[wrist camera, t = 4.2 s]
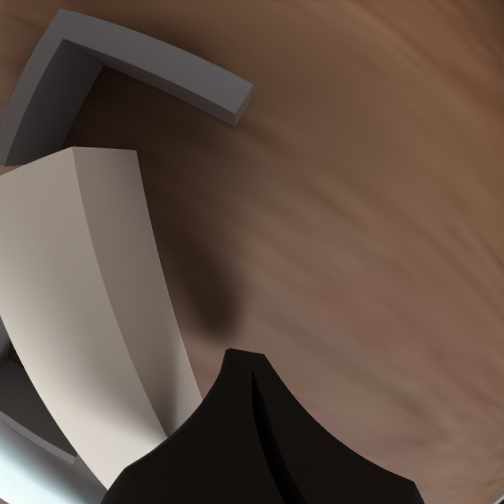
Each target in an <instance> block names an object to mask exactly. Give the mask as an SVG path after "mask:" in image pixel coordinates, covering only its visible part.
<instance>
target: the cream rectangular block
mask: <svg viewBox="0 0 504 504" xmlns="http://www.w3.org/2000/svg"><path fill="white" fill-rule="evenodd" d="M0 316H1V318H2V321H3V323H4V326H5V328H6V330H7V332H8V335H9V337H10V339H11V341H12V344H13V346H14V348H15V350H16V352H17V354H18V356H19V358H20V360H21V362H22V364H23V366H24V368H25V370H26V372H27V374H28V376H29V378H30V379H31V381H32V383H33V385H34V387H35V388H36V390H37V392H38V394H39V395H40V397H41V399H42V400H43V402H44V404H45V405H46V407H47V409H48V410H49V412H50V413H51V415H52V417H53V418H54V420H55V421H56V423H57V424H58V426H59V427H60V429H61V430H62V432H63V433H64V435H65V436H66V438H67V439H68V440H69V442H70V443H71V445H72V446H73V447H74V449H75V450H76V451H77V453H78V454H79V456H80V457H81V458H82V459H83V461H84V462H85V463H86V465H87V466H88V467H89V468H90V470H91V471H92V472H93V473H94V475H95V476H96V477H97V478H98V479H99V481H100V482H101V483H102V484H103V485H104V486H105V488H106V489H107V490H108V489H109V488H110V487H111V485H112V484H113V482H114V481H115V480H116V478H117V477H118V476H119V474H120V473H121V472H122V471H123V469H124V468H125V467H127V466H128V465H130V464H132V463H133V462H135V461H136V460H138V459H140V458H141V457H143V456H144V455H146V454H148V453H149V452H150V451H152V450H153V449H155V448H156V447H157V446H158V445H160V444H161V443H162V442H163V441H164V440H166V439H167V438H168V437H169V436H171V435H172V434H173V433H174V432H175V431H176V430H177V429H178V428H179V427H180V426H181V425H182V424H183V423H184V422H185V421H186V420H187V419H188V418H189V417H190V416H191V415H192V414H193V412H194V411H195V410H196V409H197V408H198V406H199V405H200V404H201V402H202V398H201V395H200V392H199V389H198V387H197V384H196V381H195V378H194V375H193V372H192V369H191V366H190V363H189V360H188V357H187V354H186V350H185V347H184V344H183V341H182V338H181V334H180V331H179V328H178V324H177V321H176V318H175V314H174V311H173V307H172V304H171V300H170V297H169V293H168V289H167V286H166V282H165V278H164V274H163V271H162V267H161V263H160V259H159V255H158V251H157V247H156V243H155V238H154V234H153V230H152V226H151V221H150V217H149V212H148V208H147V203H146V198H145V193H144V188H143V183H142V178H141V173H140V168H139V162H138V157H137V151H136V150H124V149H109V148H91V147H70V148H67V149H64V150H61V151H59V152H56V153H53V154H51V155H48V156H46V157H43V158H41V159H38V160H36V161H33V162H31V163H28V164H26V165H24V166H21V167H19V168H17V169H14V170H12V171H10V172H8V173H5V174H3V175H1V176H0Z"/></svg>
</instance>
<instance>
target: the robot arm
mask: <svg viewBox="0 0 504 504" xmlns="http://www.w3.org/2000/svg"><path fill="white" fill-rule="evenodd" d="M101 504H425V503H424V501H423V499H422V497H421V495H420V493H419V491H418V489H417V487H416V485H415V483H414V481H411V480H409V479H406V478H404V477H401V476H399V475H397V474H394V473H392V472H390V471H388V470H385V469H383V468H381V467H379V466H378V465H376V464H374V463H372V462H370V461H369V460H367V459H365V458H364V457H362V456H360V455H359V454H357V453H356V452H354V451H353V450H351V449H350V448H348V447H347V446H346V445H344V444H343V443H342V442H340V441H339V440H337V439H336V438H335V437H334V436H332V435H331V434H330V433H329V432H328V431H327V430H326V429H324V428H323V427H322V426H321V425H320V424H319V423H318V422H317V421H316V420H315V419H314V418H313V417H312V416H311V415H310V414H309V413H308V412H307V411H306V410H305V409H304V408H303V407H302V405H301V404H300V403H299V402H298V401H297V400H296V398H295V397H294V396H293V395H292V394H291V392H290V391H289V390H288V388H287V387H286V386H285V384H284V383H283V382H282V380H281V379H280V377H279V376H278V374H277V373H276V371H275V370H274V369H273V367H272V366H271V364H270V363H269V361H268V360H267V358H266V357H265V355H264V354H260V353H254V352H248V351H243V350H237V349H232V348H229V349H227V350H226V351H225V355H224V359H223V363H222V366H221V370H220V373H219V375H218V377H217V379H216V381H215V383H214V385H213V386H212V388H211V389H210V391H209V392H208V394H207V395H206V397H205V398H204V400H203V401H202V402H201V404H200V405H199V406H198V408H197V409H196V410H195V411H194V412H193V414H192V415H191V416H190V417H189V418H188V419H187V420H186V421H185V422H184V423H183V424H182V425H181V426H180V427H179V428H178V429H177V430H176V431H175V432H174V433H173V434H172V435H171V436H169V437H168V438H167V439H166V440H164V441H163V442H162V443H161V444H160V445H158V446H157V447H156V448H155V449H153V450H152V451H150V452H149V453H148V454H146V455H144V456H143V457H141V458H140V459H138V460H136V461H135V462H133V463H132V464H130V465H128V466H127V467H125V468H124V469H123V471H122V472H121V473H120V474H119V476H118V477H117V478H116V480H115V481H114V482H113V484H112V485H111V487H110V488H109V489H108V491H107V493H106V494H105V496H104V498H103V500H102V502H101Z"/></svg>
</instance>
